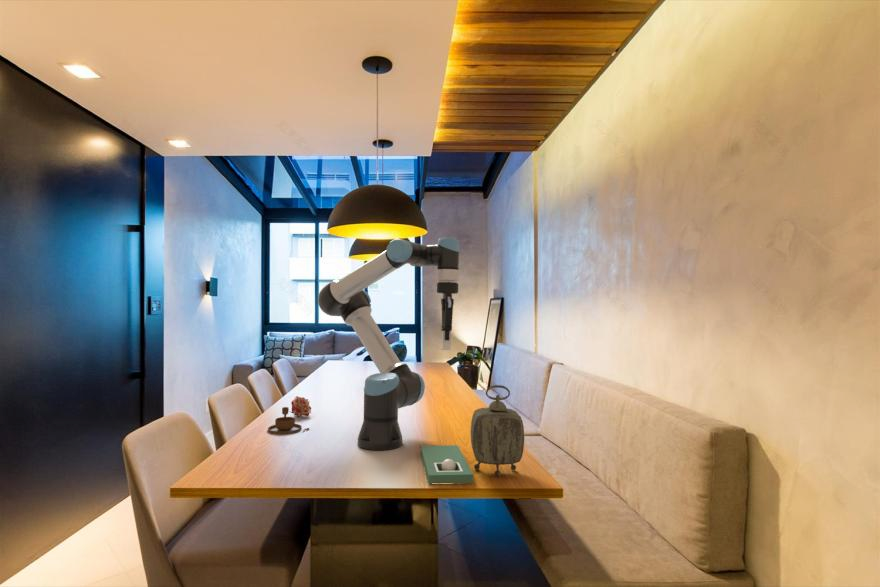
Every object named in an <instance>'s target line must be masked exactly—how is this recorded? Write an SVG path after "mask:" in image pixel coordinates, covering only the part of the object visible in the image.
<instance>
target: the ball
mask: <svg viewBox="0 0 880 587" xmlns="http://www.w3.org/2000/svg"><path fill="white" fill-rule="evenodd" d="M455 468H456V465H455V462H454V461H453V460H451V459H446V460H444V461H443V463H442V470H443V471H455Z"/></svg>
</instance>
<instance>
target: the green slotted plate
mask: <svg viewBox="0 0 880 587" xmlns="http://www.w3.org/2000/svg"><path fill="white" fill-rule="evenodd" d="M420 457H421V461H422V463H423V464H424V465H423V468H425V469H424V472H426V473H425V477H426V476H427V477H426V479H427V480H428V481H427V484H428V483H429V484H432V483H473V484H474V472H473V471H472V469H471V467H470V466H469V464H468V462H467V460H466V458H465V456H464V455H463V452H462V451H461V449H460V447H459V445H458V444H457V445H456V444H455V445H451V444H450V445H420ZM446 459H451V460H453V461H454V462H455V465H456V468H455V471H443V470H442V463H443V461H444V460H446Z"/></svg>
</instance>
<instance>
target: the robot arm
mask: <svg viewBox="0 0 880 587" xmlns="http://www.w3.org/2000/svg"><path fill="white" fill-rule="evenodd" d="M459 262H460V242H459V239H457V238H455V237H440V238H438V241H437V244H427V245H426V244H421V243H417V242H413V241H410V240H406V239H404V238H403V239H400V238H394V239H392V240H391V241H390V242H388V245H387V246H386V250H384V251H383V252H381V253H380V254H378V255H377V256H375V257H373V258H372V259H370V260H368V261H367V262H365V263H364V264H362V265H361V266H358V267H357V268H356V269H354V270H353V271H351V272H349V273H348V274H347V275H345V276H344V277H342V278H341V279H335V280H332V281H330V282H329V283H328V284H326V285H324V287H322V288H321V290H320V292H319V294H318V296H317V303H318V306H319V308H320V310H321V312H323V313H324V314H326V315H328V316H331V317H341V319H342V320H343V321H344V323H345V325H346V326H350V327H352V329H353V331H354V333H355V334H356V336H357V337H358V338H359V340H360V342H361V344H362V345H363V347H364V349H365V351H366V352H367V353H368V356H370V357H369V358H370V359H371V360H372V361H373V364H375V367H376V368H377V370H378V373H377V372H376V373H373V374H370V375H369V376H367V377H366V378H365V381H364V387H363V422H362V424H361V427H360V430H359V433H358V436H357V446H358V447H360V448H361V449H365V450H370V451H388V450H389V451H390V450H394V449H398V448H399V447H401V446H402V445H403V435H402V431H401V428H400V424H399V421H398V420H399V419H398V418H399V409H401V408H405V407H408V406H412V405H414V404H416V403H418V402H419V401H420V400H422V398H423V396H424V393H425V387H426V385H425V381H424V379H423V376H421V374H420V373H417V372H415V371H412V370H411V369H410V367H409V365H408V364H407V363H405V362H401V360H400V358H399V357H398V356H397V354H396V353H395V351H394V349H393V347H392V346H391V344H390V343H389V341H388V340H387V338H386V336H385V335H384V334H383V332H382V330H381V329H380V327H379V325H378V324H377V322H376V321H375V319H374V318H373V316H372V308H371V307H372V304H371V302H372V301H371V297H370V295H369V293H368V292H367V291H366V290H365V289H367V288H368V287H370V286H371V285H373V284H375V283H377V282H378V281H381V279H383V278H385V277H387V275H390V274H392V273H393V272H395V270H398V269H400V268H401V267H403V266H405V265H406V264H409V265H410V266H411V267H420V268H421V267H431V266H434V267H435V266H437V268H436V281H437V283H436V293H438V294H442V298H441V299H440V304H441V330H440V331H441V332H442V334H441V335H442V336H441V337H442V338H441V339H442V340H441V349H442V350H443V351H451V337H452V335H451V334H452V333H451V331H452V329H453V314H454V313H453V312H454V305H455V303H454V302H455V299H454V298H453V294H455V295H456V294H458V293H459V283H458V281H459V277H460V276H461V273H460V272H459V270H460V269H459Z"/></svg>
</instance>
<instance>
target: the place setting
mask: <svg viewBox="0 0 880 587" xmlns="http://www.w3.org/2000/svg"><path fill="white" fill-rule="evenodd" d="M281 409H282V410H281V413H282V415H283V416H281V417H276V419H275V421H274V422H275V423H274V424H272V425H270V426H268V427H267V431H268V433H270V434H271V435H291V434H296V433H298V432H301V430H302V428H303V427H302V425H301V424H298V423H296V418H295V417H293V416H287V415H288V414H289V411H290V409H289V407H288V406H284V407H282V408H281ZM294 428H296V429H294ZM273 429H276V430H273ZM292 429H293V430H292ZM308 431H310V428H309V427H308V428H304V429H303V431H302V432H301V433H304V432H308Z"/></svg>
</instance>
